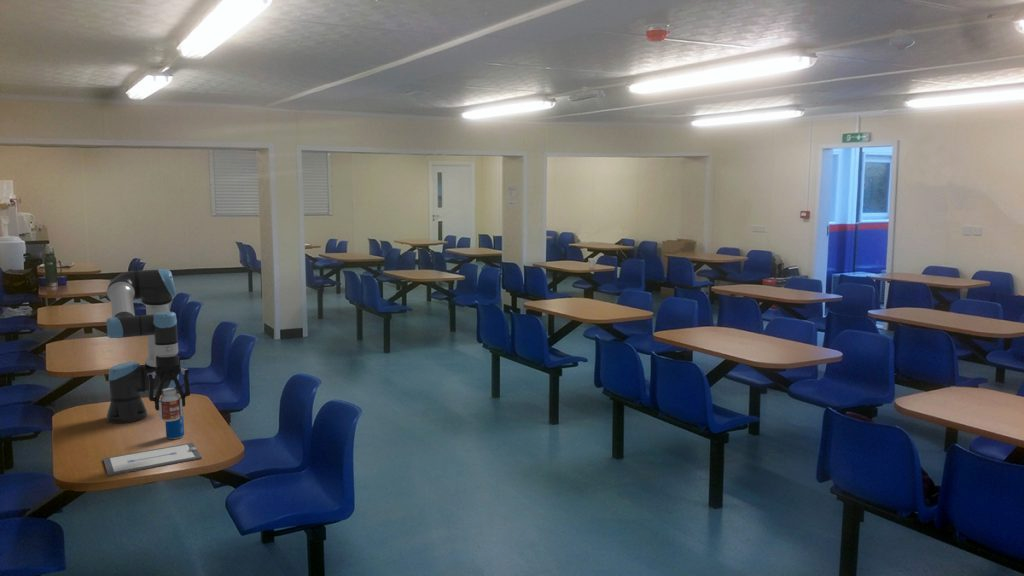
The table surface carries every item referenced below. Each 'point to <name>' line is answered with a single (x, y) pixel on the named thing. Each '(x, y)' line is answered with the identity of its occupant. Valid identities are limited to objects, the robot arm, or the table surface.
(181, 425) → the beverage can
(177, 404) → the pill bottle
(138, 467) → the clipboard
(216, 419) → the table surface
